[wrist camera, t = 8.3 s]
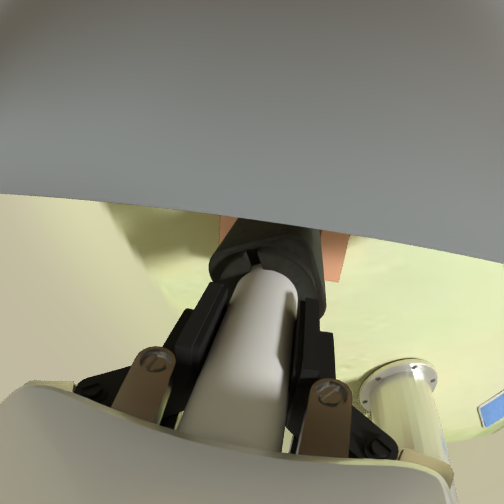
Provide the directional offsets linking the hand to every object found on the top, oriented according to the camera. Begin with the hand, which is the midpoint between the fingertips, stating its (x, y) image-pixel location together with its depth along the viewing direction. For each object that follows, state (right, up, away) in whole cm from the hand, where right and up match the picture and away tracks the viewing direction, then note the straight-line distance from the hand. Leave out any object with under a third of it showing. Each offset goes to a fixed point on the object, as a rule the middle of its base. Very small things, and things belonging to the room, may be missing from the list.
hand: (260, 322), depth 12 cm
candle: (+3, +6, +14) cm, 15 cm away
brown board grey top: (+4, +17, +14) cm, 22 cm away
